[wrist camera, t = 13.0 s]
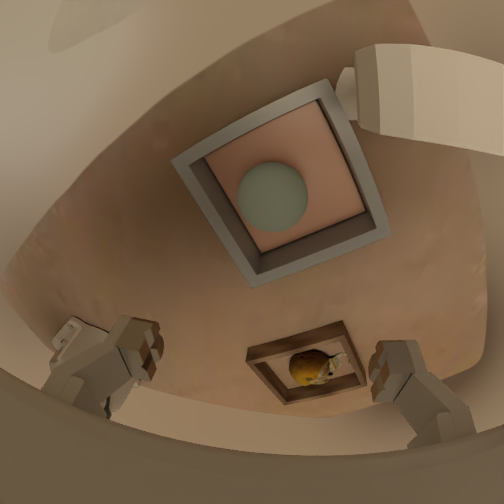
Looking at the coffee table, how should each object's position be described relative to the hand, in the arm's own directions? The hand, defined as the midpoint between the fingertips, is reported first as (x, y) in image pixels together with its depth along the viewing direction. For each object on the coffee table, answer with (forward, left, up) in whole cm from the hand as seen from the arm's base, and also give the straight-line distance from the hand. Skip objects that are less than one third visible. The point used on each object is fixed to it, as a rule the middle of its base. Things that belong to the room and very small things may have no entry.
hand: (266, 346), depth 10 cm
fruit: (-7, -27, -20) cm, 34 cm away
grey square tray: (0, 0, -20) cm, 20 cm away
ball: (-1, 0, -17) cm, 17 cm away
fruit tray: (-8, -25, -20) cm, 33 cm away
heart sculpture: (+14, +3, -20) cm, 25 cm away
